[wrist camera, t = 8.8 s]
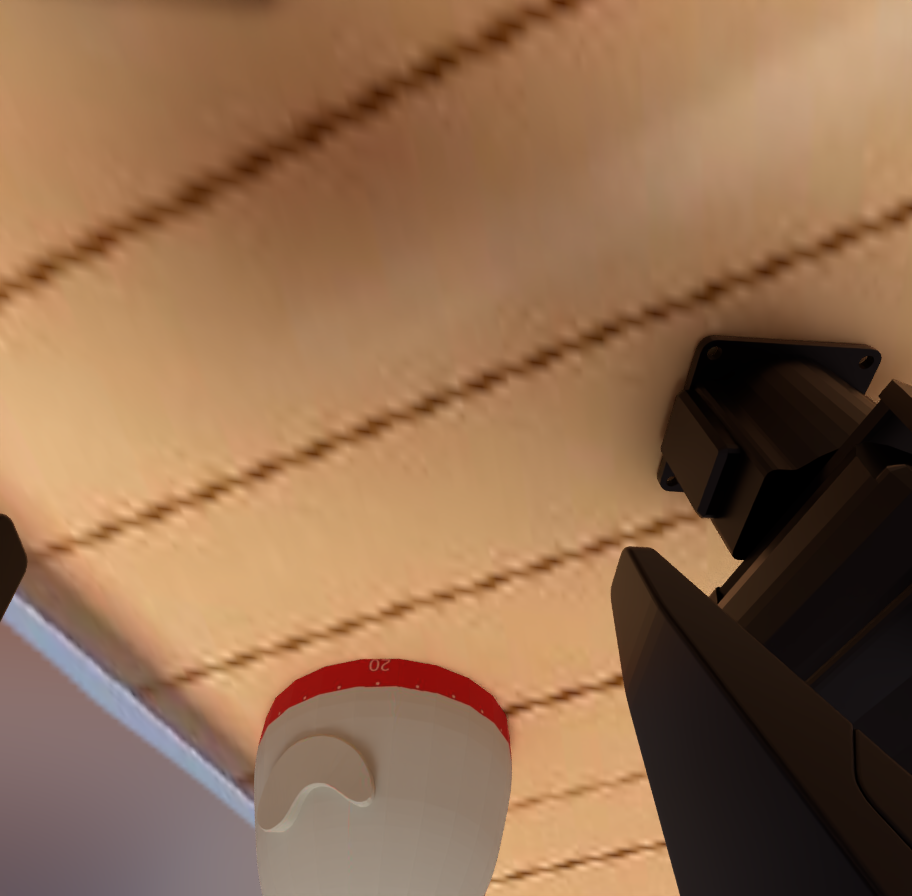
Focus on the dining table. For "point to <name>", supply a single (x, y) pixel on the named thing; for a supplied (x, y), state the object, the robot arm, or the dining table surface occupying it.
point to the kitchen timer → (381, 783)
